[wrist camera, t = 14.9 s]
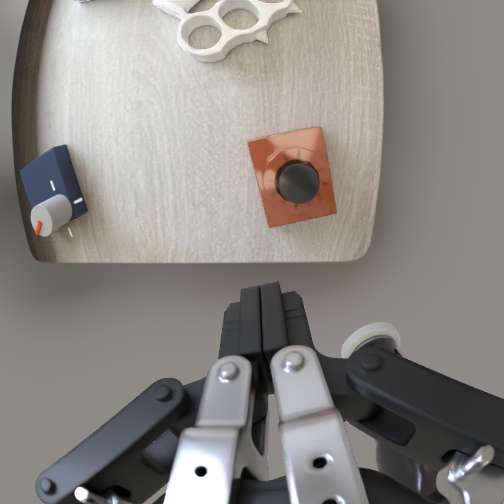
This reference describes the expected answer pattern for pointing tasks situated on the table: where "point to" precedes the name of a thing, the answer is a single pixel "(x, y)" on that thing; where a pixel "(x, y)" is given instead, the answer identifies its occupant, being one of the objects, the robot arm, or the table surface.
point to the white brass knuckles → (179, 3)
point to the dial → (51, 215)
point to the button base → (280, 154)
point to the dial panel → (53, 180)
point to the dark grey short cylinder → (298, 182)
